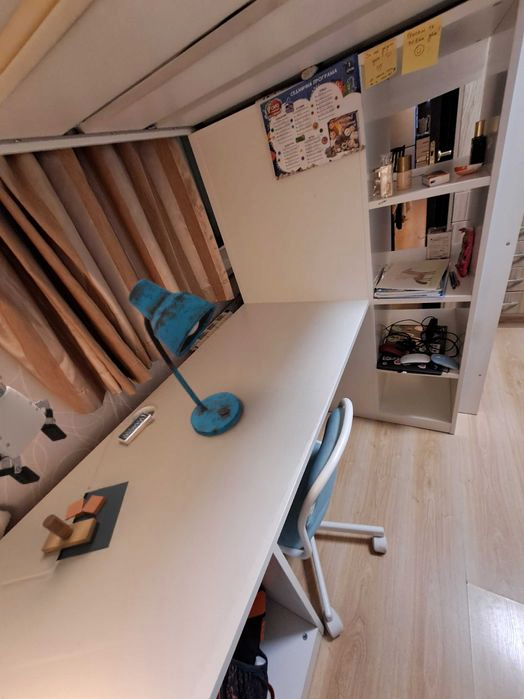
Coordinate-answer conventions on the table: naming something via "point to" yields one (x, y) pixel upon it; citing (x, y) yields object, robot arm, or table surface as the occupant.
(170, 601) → the table surface
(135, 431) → the multiport hub
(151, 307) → the desk lamp
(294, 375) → the table surface
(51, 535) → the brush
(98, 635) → the table surface
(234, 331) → the table surface
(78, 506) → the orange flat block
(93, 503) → the orange square tile
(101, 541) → the mat
